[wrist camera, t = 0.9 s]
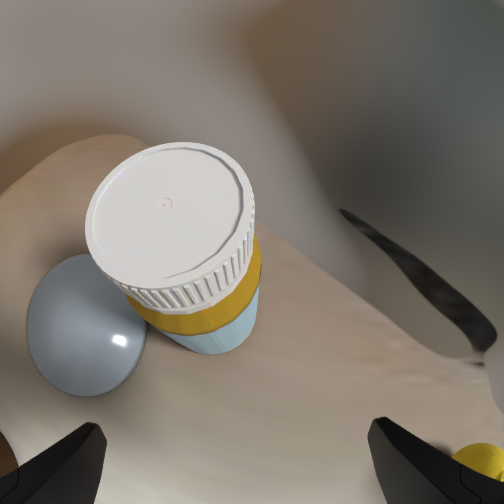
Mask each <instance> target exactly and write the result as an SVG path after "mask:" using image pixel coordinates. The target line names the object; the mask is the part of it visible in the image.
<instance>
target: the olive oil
mask: <svg viewBox="0 0 504 504" xmlns="http://www.w3.org/2000/svg"><path fill="white" fill-rule="evenodd" d="M18 467H19V466H18V463H17V461H16V458H15V456H14V453H13V451H12V449H11V447H10V445H9V444H8V442H7V440H6V439H5V437H4V436H3V435H2V433H1V432H0V477H2V476H4V475H6V474H8V473H10V472H11V471H13V470H15V469H16V468H18Z"/></svg>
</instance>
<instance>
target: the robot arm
mask: <svg viewBox="0 0 504 504" xmlns="http://www.w3.org/2000/svg"><path fill="white" fill-rule="evenodd" d="M368 443H369V447H370V451H371V455H372V459H373V463H374V467H375V471H376V475H377V478H378V480H379V483H380V485H381V488H382V491H383V493H384V496H385V499H386V501H387V504H504V482H502V481H499V480H496V479H494V478H491V477H488V476H486V475H484V474H481V473H479V472H477V471H475V470H473V469H471V468H469V467H467V466H465V465H464V464H462V463H459V462H458V461H456V460H455V459H453V458H451V457H450V456H448V455H446V454H444V453H443V452H441V451H439V450H438V449H436V448H434V447H433V446H431V445H429V444H428V443H426V442H425V441H423V440H421V439H420V438H418V437H416V436H415V435H413V434H412V433H410V432H409V431H407V430H405V429H404V428H402V427H401V426H399V425H398V424H396V423H395V422H393V421H392V420H390V419H388V418H387V417H380V418H376V419H374V420H373V421H372V424H371V426H370V429H369V432H368ZM106 446H107V440H106V437H105V436H104V434H103V432H102V430H101V428H100V426H99V425H98V424H96V423H91V422H86V423H85V424H83V425H82V426H80V427H79V428H77V429H76V430H74V431H73V432H72V433H70V434H69V435H67V436H66V437H64V438H63V439H61V440H60V441H58V442H57V443H55V444H54V445H52V446H51V447H49V448H48V449H46V450H45V451H43V452H41V453H40V454H38V455H37V456H35V457H34V458H32V459H31V460H29V461H27V462H26V463H24V464H23V465H21V466H20V467H18V468H16V469H15V470H13V471H11V472H10V473H8V474H6V475H4V476H2V477H0V504H94V501H95V497H96V494H97V490H98V487H99V483H100V479H101V475H102V469H103V463H104V457H105V451H106Z"/></svg>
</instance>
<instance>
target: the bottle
mask: <svg viewBox="0 0 504 504" xmlns="http://www.w3.org/2000/svg"><path fill="white" fill-rule="evenodd" d="M254 210H255V202H254V195H253V193H252V187H251V186H250V183H249V180H248V178H247V176H246V174H245V173H244V171H243V170H242V168H241V167H240V166H239V164H238V163H237V162H236V161H235V160H233V159H232V158H231V157H230V156H228V155H227V154H225V153H224V152H222V151H220V150H218V149H216V148H213V147H210V146H207V145H203V144H198V143H190V142H176V143H168V144H162V145H158V146H155V147H151V148H148V149H146V150H143V151H141V152H139V153H137V154H135V155H133V156H131V157H130V158H128V159H127V160H125V161H124V162H122V163H121V164H120V165H118V166H117V167H116V168H115V169H114V170H113V171H111V172H110V173H109V175H108V176H107V177H106V178H105V179H104V180H103V181H102V183H101V184H100V186H99V187H98V189H97V190H96V192H95V194H94V195H93V198H92V200H91V202H90V205H89V208H88V211H87V215H86V222H85V235H86V241H87V245H88V248H89V251H90V253H91V255H92V259H93V260H94V261H95V262H96V265H97V267H98V268H99V269H101V272H102V273H103V274H104V275H106V276H107V277H108V278H109V279H110V280H111V281H112V282H113V283H114V284H116V285H117V286H118V287H119V288H120V289H121V290H123V291H124V292H125V294H126V297H127V300H128V301H129V303H130V305H131V306H132V307H133V308H134V309H135V311H136V312H137V313H138V314H139V315H140V316H141V317H142V318H143V319H144V320H145V321H146V322H148V323H149V324H150V325H152V326H153V327H155V328H156V329H158V330H159V331H161V332H162V333H164V334H165V335H167V336H169V337H170V338H172V339H173V340H175V341H176V342H178V343H180V344H181V345H183V346H184V347H186V348H188V349H190V350H192V351H194V352H196V353H200V354H205V355H218V354H224V353H227V352H230V351H231V350H233V349H235V348H237V347H239V346H240V345H241V344H242V343H243V342H244V341H245V340H246V339H247V338H248V336H249V335H250V333H251V331H252V329H253V327H254V324H255V320H256V312H257V303H258V294H259V284H260V275H261V252H260V248H259V244H258V240H257V238H256V235H255V234H254V213H255V211H254Z"/></svg>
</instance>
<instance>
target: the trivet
mask: <svg viewBox="0 0 504 504" xmlns="http://www.w3.org/2000/svg"><path fill="white" fill-rule="evenodd" d="M146 336H147V322H146V321H145V320H144V319H143V318H142V317H141V316H140V315H139V314H138V313H137V312H136V311H135V309H134V308H133V307H132V306H131V305H130V303H129V301H128V300H127V297H126V294H125V292H124V291H123V290H121V289H120V288H119V287H118V286H117V285H116V284H114V283H113V282H112V281H111V280H110V279H109V278H108V277H107V276H106V275H104V274H103V273H102V272H101V269H99V268H98V267H97V265H96V262H95V261H94V260H93V259H92V255H91V254H80V255H76V256H73V257H70V258H68V259H65V260H64V261H62V262H60V263H59V264H58V265H56V266H55V267H54V268H52V269H51V270H50V271H49V272H48V273H47V275H46V276H45V277H44V278H43V279H42V281H41V282H40V284H39V285H38V287H37V289H36V291H35V293H34V295H33V298H32V301H31V304H30V307H29V312H28V318H27V338H28V344H29V349H30V352H31V355H32V358H33V360H34V362H35V364H36V366H37V368H38V370H39V371H40V373H41V374H42V375H43V376H44V378H45V379H46V380H47V381H48V382H49V383H50V384H51V385H53V386H54V387H56V388H57V389H59V390H61V391H63V392H65V393H68V394H71V395H76V396H97V395H102V394H105V393H108V392H110V391H112V390H114V389H115V388H117V387H118V386H120V385H121V384H122V383H123V382H124V381H126V379H127V378H128V377H129V376H130V375H131V374H132V372H133V371H134V369H135V368H136V366H137V364H138V362H139V360H140V358H141V356H142V353H143V350H144V346H145V342H146Z"/></svg>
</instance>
